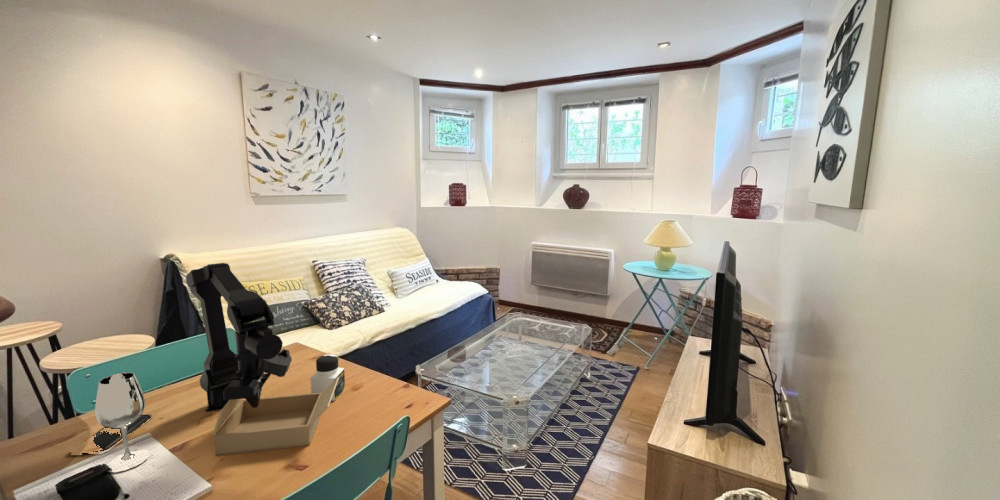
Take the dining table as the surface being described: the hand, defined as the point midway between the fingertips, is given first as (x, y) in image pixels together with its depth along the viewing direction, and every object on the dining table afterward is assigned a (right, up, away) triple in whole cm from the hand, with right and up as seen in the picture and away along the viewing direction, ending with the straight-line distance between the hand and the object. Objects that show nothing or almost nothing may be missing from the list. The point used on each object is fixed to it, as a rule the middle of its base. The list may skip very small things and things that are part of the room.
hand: (255, 406), depth 97 cm
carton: (+4, -7, +2) cm, 8 cm away
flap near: (-5, +1, -1) cm, 5 cm away
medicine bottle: (+10, -4, +20) cm, 22 cm away
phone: (-35, -7, -1) cm, 35 cm away
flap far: (+16, +1, +4) cm, 16 cm away
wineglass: (-22, -8, -10) cm, 26 cm away
